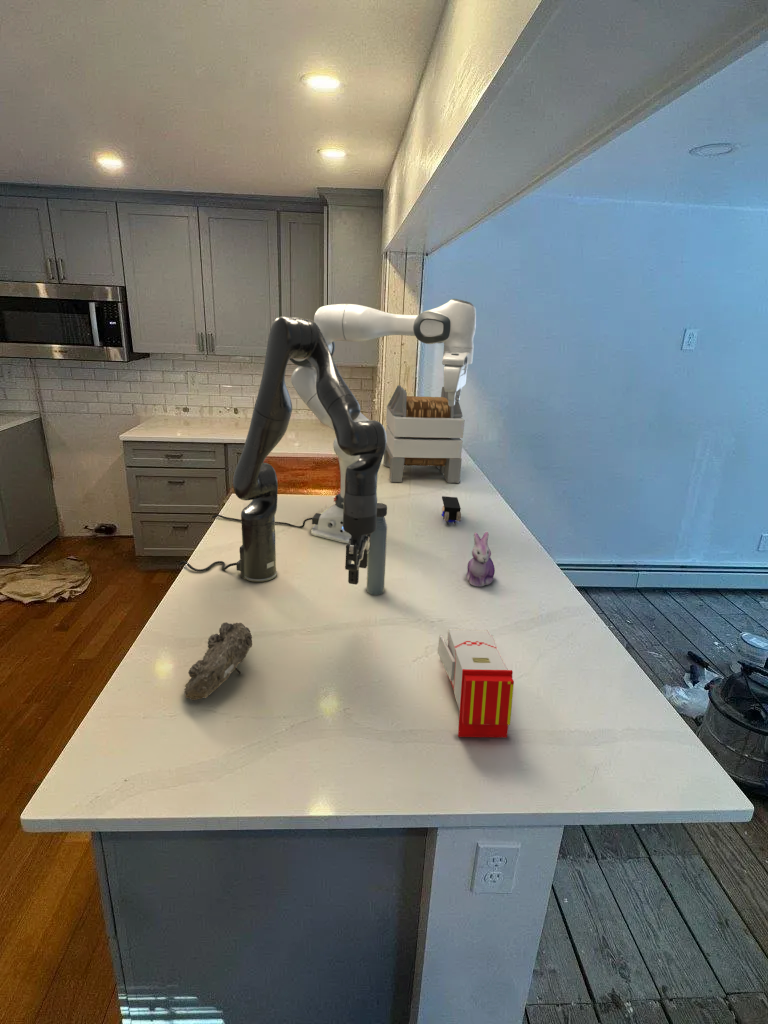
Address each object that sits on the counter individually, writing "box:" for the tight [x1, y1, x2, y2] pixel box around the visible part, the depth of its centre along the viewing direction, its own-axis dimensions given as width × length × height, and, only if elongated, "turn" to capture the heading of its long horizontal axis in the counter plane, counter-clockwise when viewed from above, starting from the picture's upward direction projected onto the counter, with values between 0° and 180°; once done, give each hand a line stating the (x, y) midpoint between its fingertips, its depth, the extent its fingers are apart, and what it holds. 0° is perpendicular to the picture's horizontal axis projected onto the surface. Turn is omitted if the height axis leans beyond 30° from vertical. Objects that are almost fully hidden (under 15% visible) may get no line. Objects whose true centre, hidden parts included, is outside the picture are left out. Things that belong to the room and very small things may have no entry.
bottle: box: [366, 516, 388, 596], centre depth 155 cm, size 5×5×25 cm
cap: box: [377, 502, 388, 517], centre depth 151 cm, size 4×4×2 cm
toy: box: [437, 628, 515, 738], centre depth 117 cm, size 12×13×30 cm
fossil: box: [183, 622, 253, 701], centre depth 120 cm, size 22×10×15 cm
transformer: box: [383, 384, 465, 484], centre depth 268 cm, size 34×33×41 cm
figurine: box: [466, 531, 496, 587], centre depth 165 cm, size 9×10×15 cm
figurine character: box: [441, 495, 462, 526], centre depth 214 cm, size 7×8×15 cm
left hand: (358, 575), depth 132 cm, fingers open, 8 cm apart
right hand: (454, 403), depth 174 cm, fingers open, 8 cm apart
